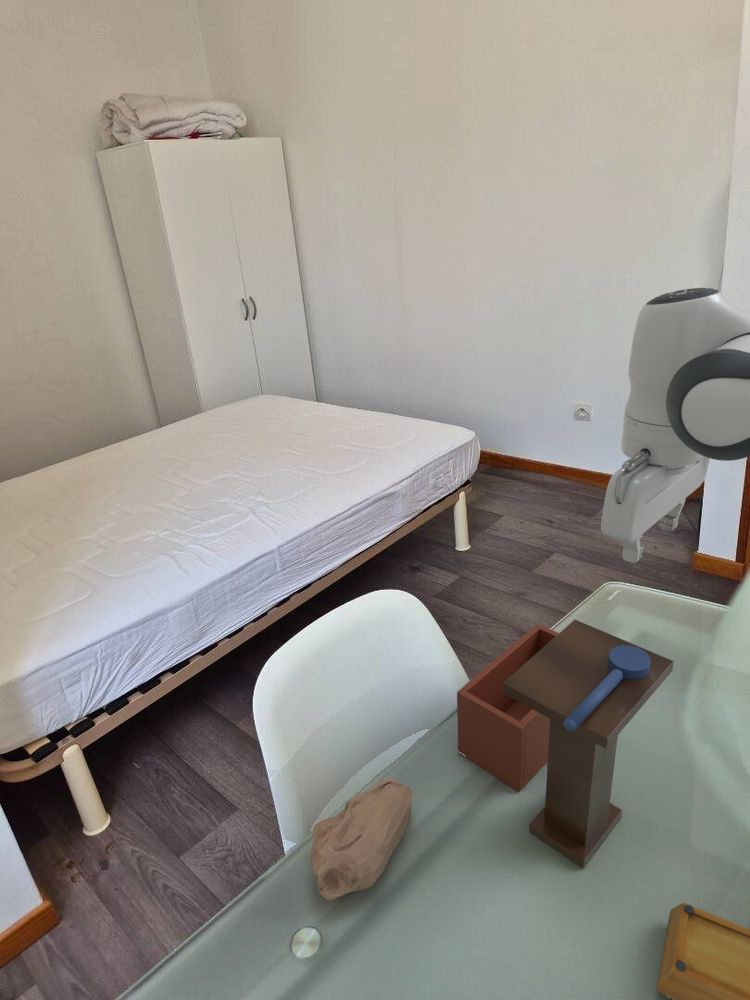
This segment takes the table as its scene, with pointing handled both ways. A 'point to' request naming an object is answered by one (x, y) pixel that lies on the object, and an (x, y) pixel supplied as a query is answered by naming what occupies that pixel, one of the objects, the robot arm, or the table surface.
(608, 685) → the blue spoon
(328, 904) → the table surface
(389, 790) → the rock
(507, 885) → the table surface
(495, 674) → the bin
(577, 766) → the shelf stand
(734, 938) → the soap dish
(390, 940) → the table surface
